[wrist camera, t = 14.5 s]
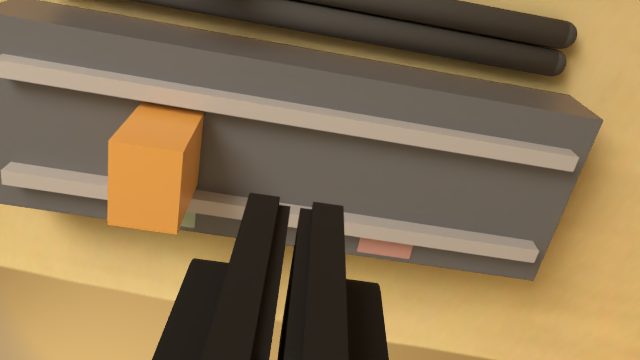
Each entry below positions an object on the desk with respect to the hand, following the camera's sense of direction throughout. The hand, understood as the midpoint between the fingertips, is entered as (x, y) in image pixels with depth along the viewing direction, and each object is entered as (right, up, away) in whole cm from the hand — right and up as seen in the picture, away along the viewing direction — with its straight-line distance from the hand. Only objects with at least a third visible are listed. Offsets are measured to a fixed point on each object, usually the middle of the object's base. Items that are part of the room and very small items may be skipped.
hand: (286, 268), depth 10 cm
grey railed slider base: (-1, +4, +22) cm, 22 cm away
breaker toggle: (-7, +3, +18) cm, 19 cm away
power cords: (0, +11, +19) cm, 21 cm away
